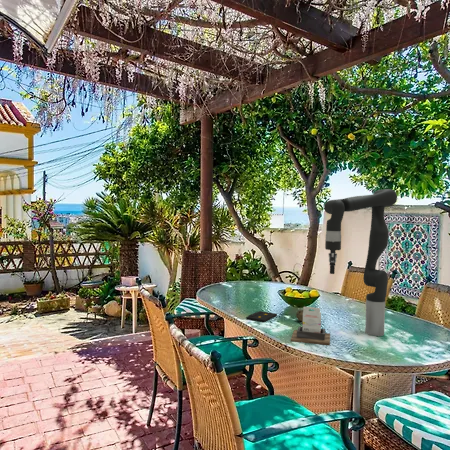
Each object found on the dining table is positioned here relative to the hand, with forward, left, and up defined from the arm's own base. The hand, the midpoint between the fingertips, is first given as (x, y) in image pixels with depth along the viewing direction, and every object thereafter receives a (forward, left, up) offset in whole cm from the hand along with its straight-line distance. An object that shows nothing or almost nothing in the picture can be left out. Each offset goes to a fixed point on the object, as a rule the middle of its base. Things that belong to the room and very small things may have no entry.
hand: (332, 272), depth 194 cm
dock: (+6, -9, -32) cm, 34 cm away
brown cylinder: (-21, -12, -32) cm, 41 cm away
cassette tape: (-24, -39, -33) cm, 56 cm away
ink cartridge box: (+6, -9, -31) cm, 33 cm away
